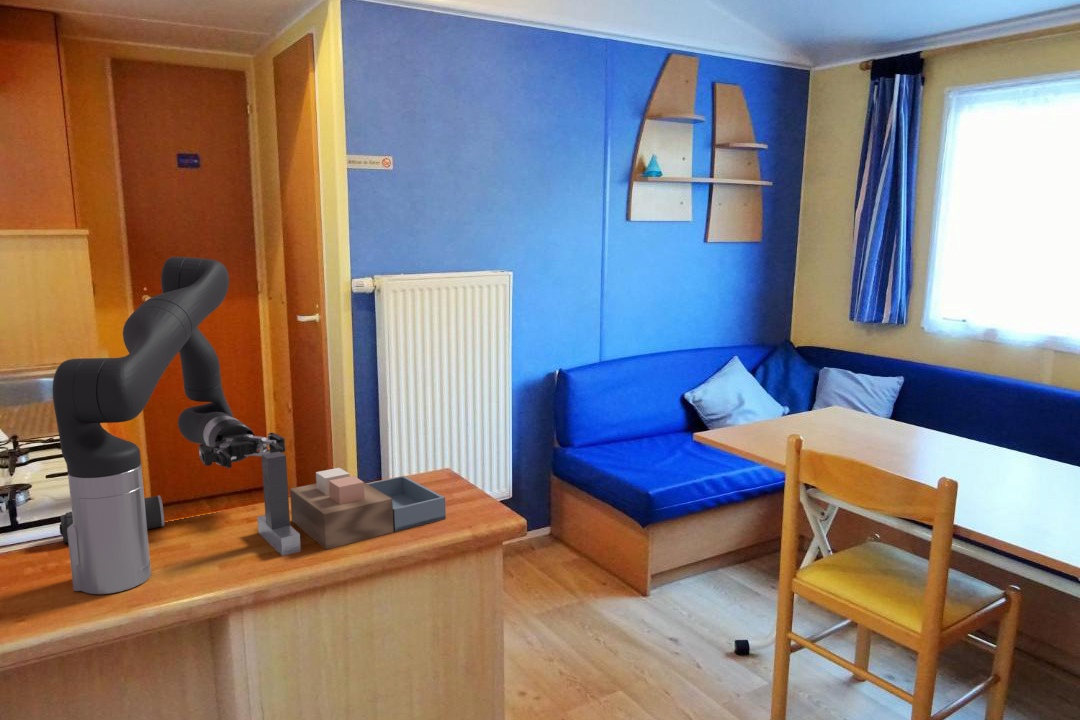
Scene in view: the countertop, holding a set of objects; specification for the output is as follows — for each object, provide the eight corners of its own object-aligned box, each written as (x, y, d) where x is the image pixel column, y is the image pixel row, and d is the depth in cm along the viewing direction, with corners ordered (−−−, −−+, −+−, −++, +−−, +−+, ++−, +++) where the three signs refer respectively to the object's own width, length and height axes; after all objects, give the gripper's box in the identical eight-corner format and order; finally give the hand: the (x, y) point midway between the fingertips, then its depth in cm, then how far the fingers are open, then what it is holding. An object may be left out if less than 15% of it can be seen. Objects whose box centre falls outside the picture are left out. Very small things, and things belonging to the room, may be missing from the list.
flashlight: (61, 550, 124) (58, 518, 123) (61, 539, 128) (57, 508, 127) (165, 530, 132) (162, 500, 131) (161, 520, 136) (158, 491, 135)
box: (395, 531, 130) (394, 509, 130) (356, 506, 143) (355, 485, 142) (445, 518, 136) (445, 497, 136) (404, 495, 149) (403, 475, 148)
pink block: (339, 504, 126) (339, 487, 126) (329, 497, 130) (328, 480, 129) (364, 499, 129) (363, 482, 129) (353, 492, 132) (353, 475, 132)
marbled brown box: (326, 549, 123) (324, 514, 122) (291, 520, 135) (290, 488, 134) (393, 532, 130) (392, 498, 129) (354, 506, 143) (353, 475, 142)
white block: (326, 495, 131) (325, 478, 131) (316, 488, 135) (315, 472, 134) (350, 489, 134) (349, 473, 133) (340, 483, 137) (339, 467, 137)
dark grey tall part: (282, 556, 121) (276, 465, 118) (258, 533, 130) (253, 448, 128) (300, 551, 122) (295, 461, 120) (276, 529, 132) (270, 445, 129)
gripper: (187, 424, 141) (210, 444, 128) (264, 413, 150) (293, 430, 137) (190, 463, 142) (213, 486, 130) (267, 450, 151) (295, 470, 138)
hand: (254, 458), depth 133 cm, fingers open, 8 cm apart
